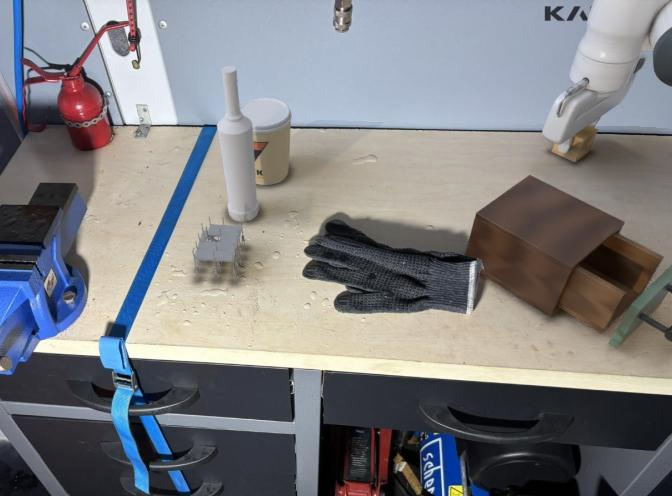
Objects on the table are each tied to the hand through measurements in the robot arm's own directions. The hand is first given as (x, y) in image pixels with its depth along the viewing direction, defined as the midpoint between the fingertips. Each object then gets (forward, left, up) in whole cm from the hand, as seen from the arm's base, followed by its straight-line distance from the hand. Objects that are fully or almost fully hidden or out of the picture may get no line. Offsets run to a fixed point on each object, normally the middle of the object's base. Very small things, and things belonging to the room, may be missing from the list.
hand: (573, 143), depth 106 cm
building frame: (+63, -20, -2) cm, 66 cm away
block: (0, 0, -2) cm, 2 cm away
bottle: (+53, -27, -2) cm, 60 cm away
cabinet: (+30, +12, -2) cm, 32 cm away
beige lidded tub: (+43, -33, -2) cm, 54 cm away
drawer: (+30, +24, -1) cm, 38 cm away
